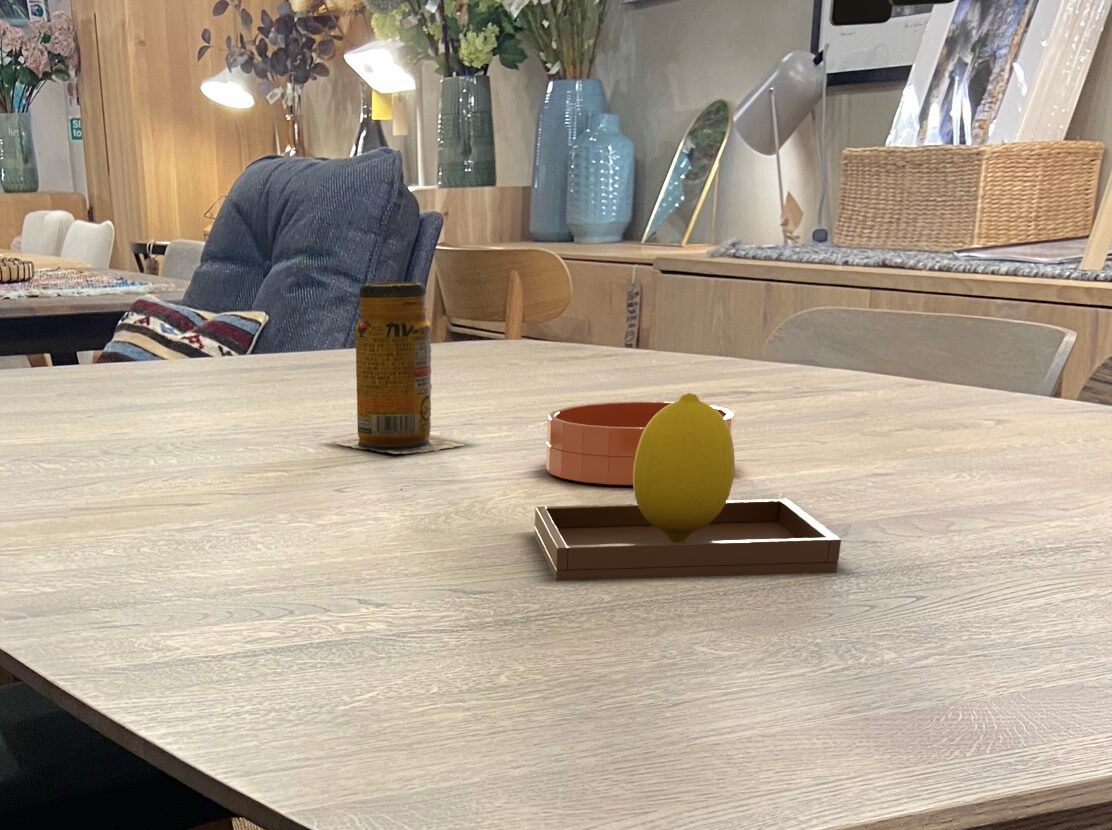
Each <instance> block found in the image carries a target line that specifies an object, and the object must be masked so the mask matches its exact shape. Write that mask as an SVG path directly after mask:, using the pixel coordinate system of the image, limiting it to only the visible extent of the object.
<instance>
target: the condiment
mask: <svg viewBox="0 0 1112 830" xmlns="http://www.w3.org/2000/svg"><path fill="white" fill-rule="evenodd" d="M358 292H359V293H358V294H359V307H358V312H359V315H361V316H360V318H359V320H358V322H357V323H356V325H355V372H356V373H355V374H356V375H355V376H356V410H357V411H356V416H357V417H356V419H357V436H358V440H343V441H336V442H335V444H337V445H340V446H344V447H348V448H353V449H358V450H371V451H375V452H379V453H389V454H394V455H395V454H403V455H406V454H415V453H426V452H431V451H435V452H438V451H439V450H443V449H453V448H456V447H461V446H465V444H464V443H461V442H453V441H451V440H449V441H447V440H444V439H430V435H431V427H432V423H431V421H432V420H431V416H432V399H431V397H432V387H433V385H432V380H431V379H432V365H431V363H432V346H431V343H432V341H431V339H432V327H431V323H430V322H429V320H428V318H427V317H426V312H427V303H426V296H425V295H426V294H427V288H426V286H425V285H424V284H423V283H422V282H416V281H413V282H404V281H403V282H375V283H374V282H372V283H364V284H363V285H361V286H360V288H359V291H358Z"/></svg>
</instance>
